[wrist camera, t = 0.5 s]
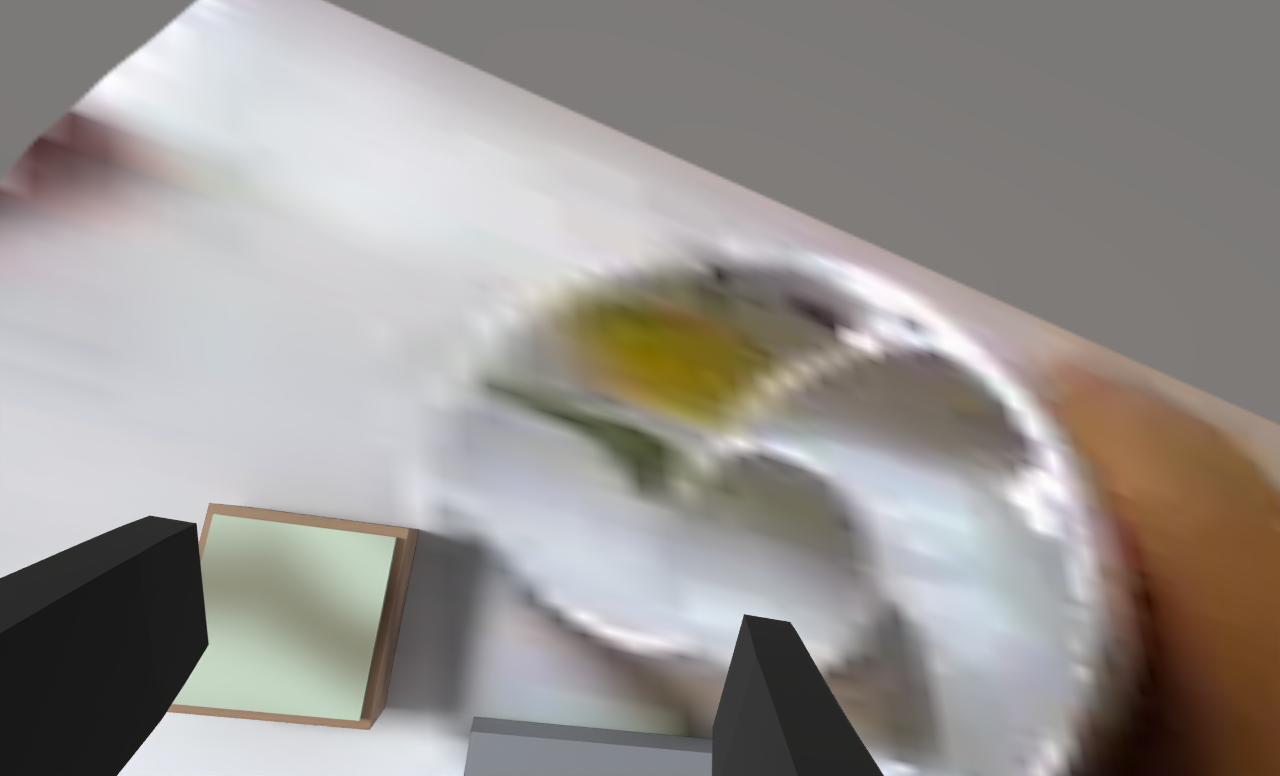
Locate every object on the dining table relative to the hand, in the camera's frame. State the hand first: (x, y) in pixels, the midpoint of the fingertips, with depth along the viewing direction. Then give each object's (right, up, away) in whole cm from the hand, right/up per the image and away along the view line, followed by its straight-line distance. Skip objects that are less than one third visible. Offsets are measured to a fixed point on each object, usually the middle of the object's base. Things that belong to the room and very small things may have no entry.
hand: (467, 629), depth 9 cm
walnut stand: (-13, -7, +23) cm, 27 cm away
